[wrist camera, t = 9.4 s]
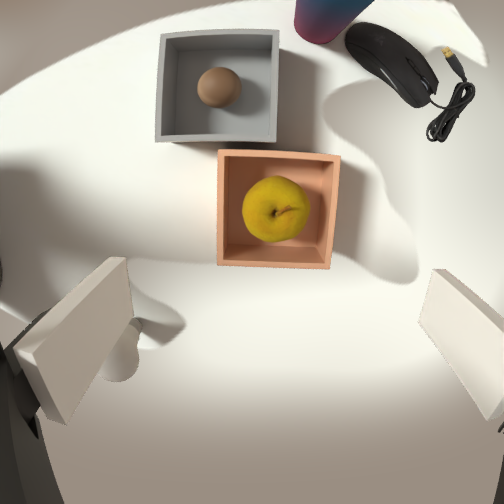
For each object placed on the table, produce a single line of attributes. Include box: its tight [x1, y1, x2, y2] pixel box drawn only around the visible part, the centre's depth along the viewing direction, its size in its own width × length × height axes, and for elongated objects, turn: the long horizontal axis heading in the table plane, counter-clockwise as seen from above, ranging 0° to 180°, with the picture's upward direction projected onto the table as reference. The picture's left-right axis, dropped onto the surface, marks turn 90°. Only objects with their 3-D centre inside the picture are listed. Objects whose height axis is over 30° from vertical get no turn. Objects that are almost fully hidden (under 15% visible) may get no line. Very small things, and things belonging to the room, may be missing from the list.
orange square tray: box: [217, 149, 341, 269], centre depth 31 cm, size 11×11×6 cm
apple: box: [242, 175, 310, 243], centre depth 29 cm, size 6×6×8 cm
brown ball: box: [197, 67, 242, 108], centre depth 27 cm, size 4×4×4 cm
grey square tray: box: [155, 29, 279, 143], centre depth 27 cm, size 11×11×6 cm
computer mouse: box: [345, 22, 475, 142], centre depth 26 cm, size 12×17×4 cm
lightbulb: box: [97, 318, 142, 382], centre depth 34 cm, size 6×6×11 cm
